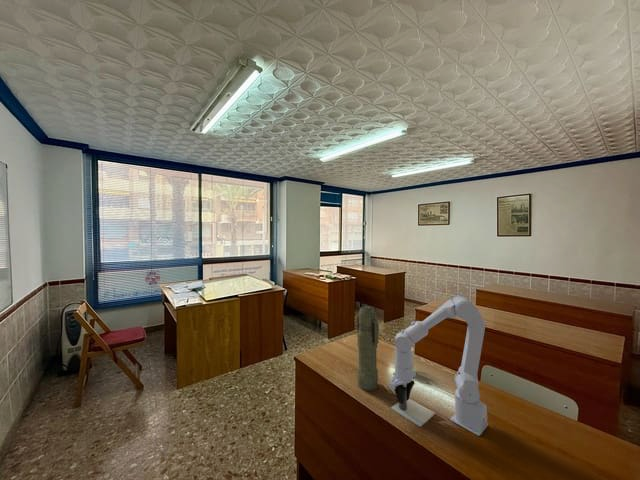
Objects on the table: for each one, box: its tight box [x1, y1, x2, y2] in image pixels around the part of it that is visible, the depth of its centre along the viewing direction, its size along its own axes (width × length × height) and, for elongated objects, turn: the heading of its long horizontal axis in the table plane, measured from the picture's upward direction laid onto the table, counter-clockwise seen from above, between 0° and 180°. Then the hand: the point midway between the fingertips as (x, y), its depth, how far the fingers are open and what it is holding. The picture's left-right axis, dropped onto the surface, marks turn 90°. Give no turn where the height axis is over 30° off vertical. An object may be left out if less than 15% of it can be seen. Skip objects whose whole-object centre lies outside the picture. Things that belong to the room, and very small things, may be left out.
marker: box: [399, 383, 407, 410], centre depth 96 cm, size 3×3×10 cm
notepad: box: [391, 398, 436, 428], centre depth 95 cm, size 12×10×1 cm
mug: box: [410, 347, 415, 371], centre depth 123 cm, size 10×7×12 cm, turn 128°
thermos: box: [356, 305, 380, 392], centre depth 112 cm, size 9×12×35 cm
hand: (403, 400), depth 96 cm, fingers closed on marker, 3 cm apart
